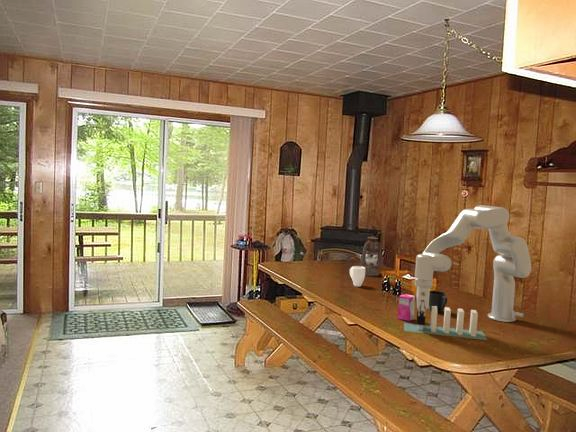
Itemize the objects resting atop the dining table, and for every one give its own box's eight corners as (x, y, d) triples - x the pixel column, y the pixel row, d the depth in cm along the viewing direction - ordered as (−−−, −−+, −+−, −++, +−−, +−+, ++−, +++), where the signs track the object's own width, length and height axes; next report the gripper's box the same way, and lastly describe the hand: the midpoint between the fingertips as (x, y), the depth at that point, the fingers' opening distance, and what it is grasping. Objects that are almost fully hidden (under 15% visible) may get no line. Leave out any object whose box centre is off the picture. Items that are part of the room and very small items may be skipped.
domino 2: (434, 328, 218) (436, 306, 217) (435, 332, 213) (437, 309, 212) (430, 327, 219) (431, 305, 218) (431, 331, 213) (432, 309, 213)
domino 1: (422, 326, 220) (423, 304, 219) (422, 330, 214) (424, 308, 213) (417, 326, 220) (419, 304, 219) (417, 329, 215) (419, 307, 214)
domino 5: (474, 332, 215) (475, 310, 214) (476, 336, 209) (477, 313, 209) (469, 332, 215) (471, 309, 214) (471, 335, 210) (472, 313, 209)
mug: (437, 315, 240) (438, 296, 239) (424, 309, 252) (425, 290, 251) (452, 315, 242) (453, 296, 242) (438, 308, 254) (439, 290, 253)
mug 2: (367, 286, 297) (368, 268, 296) (356, 287, 293) (357, 268, 292) (354, 282, 308) (356, 264, 307) (344, 283, 304) (345, 265, 303)
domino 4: (460, 331, 216) (462, 308, 215) (462, 335, 211) (464, 312, 210) (456, 330, 216) (457, 308, 216) (457, 334, 211) (459, 311, 210)
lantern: (356, 273, 337) (359, 222, 334) (375, 272, 344) (378, 222, 342) (365, 276, 328) (368, 224, 325) (385, 275, 335) (388, 224, 332)
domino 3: (447, 329, 217) (449, 307, 216) (449, 333, 212) (450, 310, 211) (443, 329, 218) (444, 307, 217) (444, 333, 212) (445, 310, 211)
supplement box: (402, 317, 235) (404, 293, 234) (414, 319, 231) (415, 296, 230) (397, 319, 231) (398, 295, 230) (408, 322, 227) (410, 298, 226)
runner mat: (482, 332, 217) (482, 331, 217) (487, 340, 205) (487, 340, 205) (403, 323, 224) (403, 322, 224) (403, 331, 213) (404, 330, 213)
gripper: (433, 287, 206) (430, 329, 208) (430, 279, 223) (428, 318, 224) (415, 285, 208) (412, 327, 209) (413, 277, 225) (411, 316, 226)
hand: (420, 322), depth 217 cm, fingers open, 5 cm apart
